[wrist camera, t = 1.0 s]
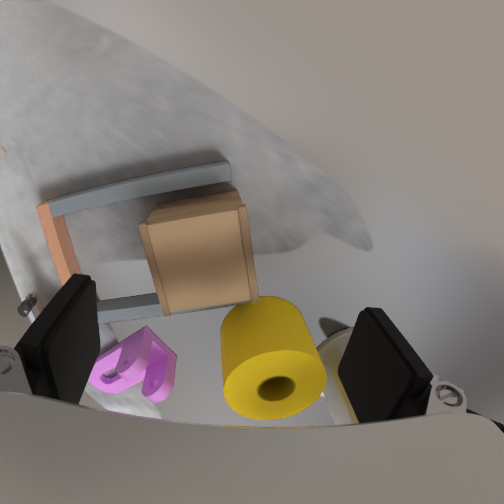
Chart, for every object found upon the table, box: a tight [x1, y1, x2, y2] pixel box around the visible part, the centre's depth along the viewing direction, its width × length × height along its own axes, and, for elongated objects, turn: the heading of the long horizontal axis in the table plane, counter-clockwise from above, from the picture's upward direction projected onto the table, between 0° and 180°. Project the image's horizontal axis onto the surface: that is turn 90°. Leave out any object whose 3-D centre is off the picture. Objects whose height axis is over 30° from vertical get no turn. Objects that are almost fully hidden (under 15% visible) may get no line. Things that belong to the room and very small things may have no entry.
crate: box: [138, 190, 259, 316], centre depth 29 cm, size 8×8×7 cm
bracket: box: [88, 326, 177, 403], centre depth 34 cm, size 13×6×7 cm, turn 123°
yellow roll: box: [221, 296, 327, 420], centre depth 33 cm, size 10×10×9 cm
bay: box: [37, 161, 250, 324], centre depth 31 cm, size 14×20×2 cm
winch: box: [18, 293, 43, 319], centre depth 30 cm, size 9×5×8 cm, turn 7°
